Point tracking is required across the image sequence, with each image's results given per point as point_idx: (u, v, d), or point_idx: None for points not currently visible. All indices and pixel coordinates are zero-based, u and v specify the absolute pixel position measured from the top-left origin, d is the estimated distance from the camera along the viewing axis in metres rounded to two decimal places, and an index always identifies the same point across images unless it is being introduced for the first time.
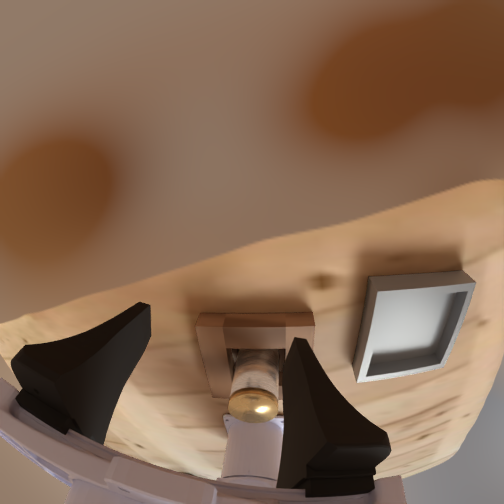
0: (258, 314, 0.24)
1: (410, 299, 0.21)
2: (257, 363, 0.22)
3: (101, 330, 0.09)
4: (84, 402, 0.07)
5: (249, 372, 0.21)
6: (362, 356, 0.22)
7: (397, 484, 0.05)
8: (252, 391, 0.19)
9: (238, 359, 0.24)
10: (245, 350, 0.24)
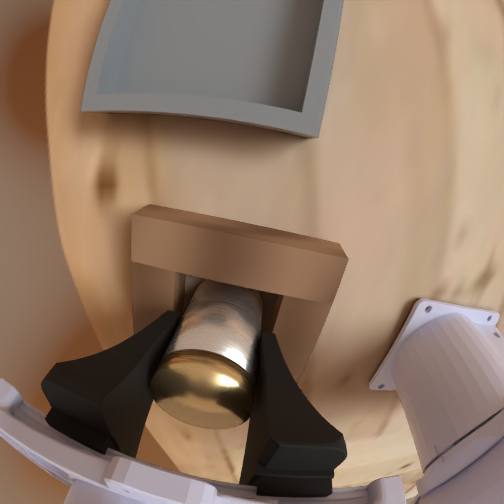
0: None
1: (151, 35, 0.09)
2: None
3: (135, 342, 0.09)
4: (123, 419, 0.07)
5: None
6: (229, 119, 0.10)
7: (397, 484, 0.05)
8: None
9: None
10: None
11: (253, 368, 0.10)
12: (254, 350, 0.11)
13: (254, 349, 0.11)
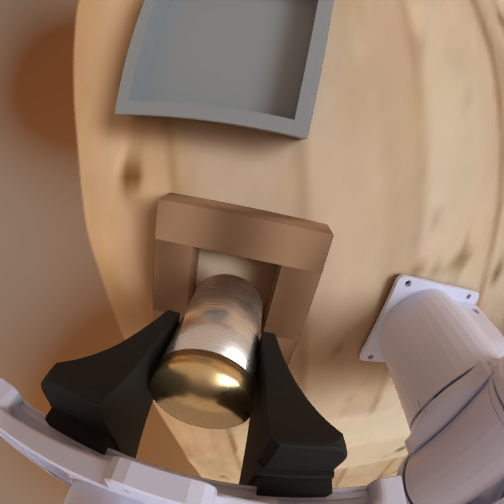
0: None
1: (172, 51, 0.12)
2: (176, 329, 0.12)
3: (135, 342, 0.09)
4: (123, 418, 0.07)
5: None
6: (238, 124, 0.13)
7: (397, 484, 0.05)
8: None
9: None
10: None
11: (253, 368, 0.10)
12: (254, 350, 0.11)
13: (254, 349, 0.11)
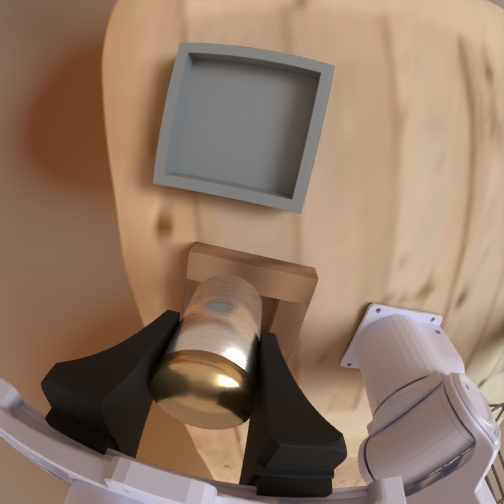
0: None
1: (196, 129, 0.18)
2: None
3: (135, 342, 0.09)
4: (123, 418, 0.07)
5: None
6: (250, 201, 0.19)
7: (397, 484, 0.05)
8: None
9: None
10: None
11: (253, 369, 0.10)
12: (254, 351, 0.11)
13: (254, 350, 0.11)
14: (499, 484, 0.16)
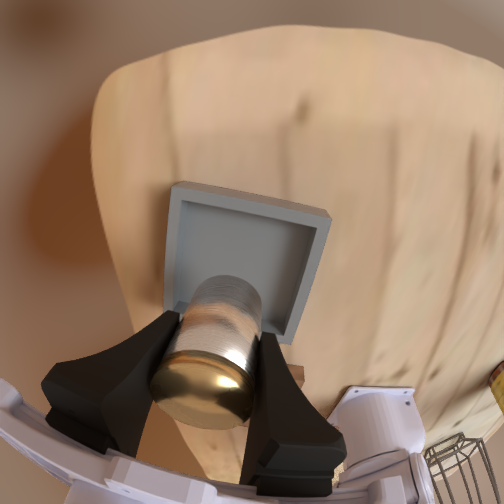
0: None
1: (197, 267, 0.21)
2: None
3: (135, 342, 0.09)
4: (123, 418, 0.07)
5: None
6: None
7: (397, 484, 0.05)
8: None
9: None
10: None
11: (253, 369, 0.10)
12: (254, 351, 0.11)
13: (254, 350, 0.11)
14: None
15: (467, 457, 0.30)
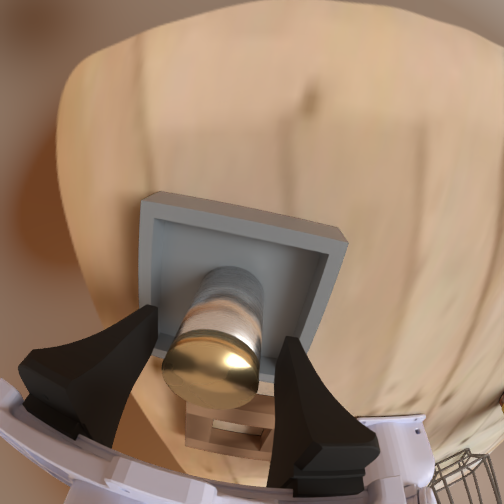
0: None
1: (179, 297, 0.17)
2: None
3: (109, 333, 0.09)
4: (93, 406, 0.07)
5: None
6: None
7: (397, 484, 0.05)
8: None
9: None
10: None
11: (258, 348, 0.11)
12: (258, 333, 0.12)
13: (258, 332, 0.12)
14: None
15: (472, 471, 0.26)
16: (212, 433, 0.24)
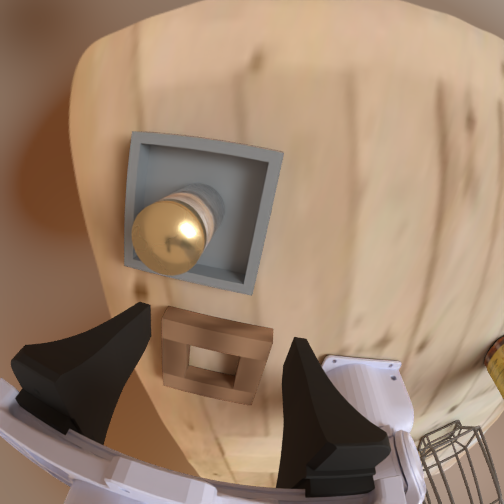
0: None
1: None
2: None
3: (101, 330, 0.09)
4: (84, 401, 0.07)
5: None
6: None
7: (397, 484, 0.05)
8: None
9: None
10: None
11: (206, 220, 0.15)
12: (209, 214, 0.16)
13: (209, 213, 0.16)
14: (471, 500, 0.19)
15: (465, 447, 0.30)
16: (188, 370, 0.27)
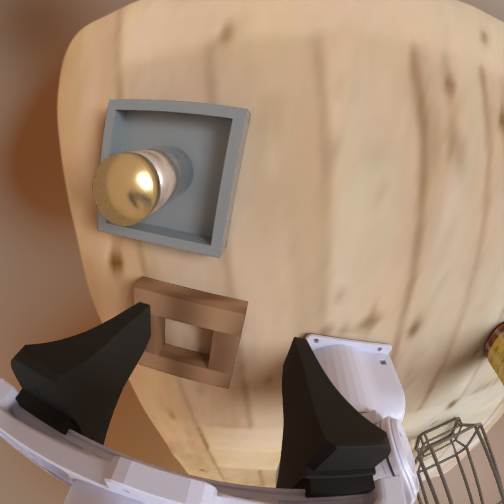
0: None
1: None
2: None
3: (101, 330, 0.09)
4: (84, 401, 0.07)
5: None
6: None
7: (397, 484, 0.05)
8: None
9: None
10: None
11: (161, 170, 0.14)
12: (167, 167, 0.15)
13: (168, 167, 0.15)
14: (472, 503, 0.17)
15: (465, 447, 0.28)
16: (164, 348, 0.26)
